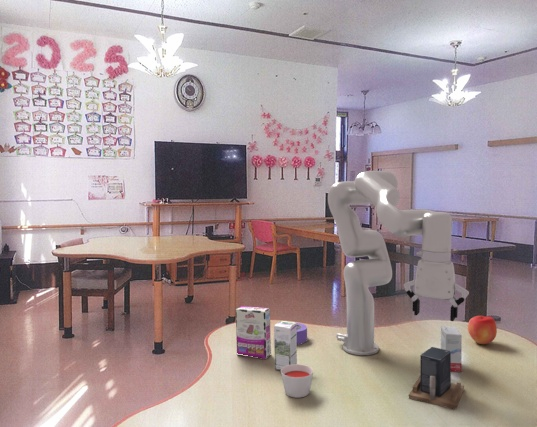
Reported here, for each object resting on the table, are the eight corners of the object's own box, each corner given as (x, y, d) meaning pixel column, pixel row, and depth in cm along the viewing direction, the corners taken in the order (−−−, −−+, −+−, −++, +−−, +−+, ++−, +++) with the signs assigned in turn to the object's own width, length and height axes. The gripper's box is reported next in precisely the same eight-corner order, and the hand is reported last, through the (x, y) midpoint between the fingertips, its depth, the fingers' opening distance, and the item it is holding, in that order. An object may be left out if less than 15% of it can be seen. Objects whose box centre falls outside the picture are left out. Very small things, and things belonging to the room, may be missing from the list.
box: (431, 382, 129) (431, 346, 128) (451, 387, 125) (451, 351, 124) (419, 391, 123) (419, 354, 123) (440, 398, 119) (440, 359, 119)
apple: (498, 341, 163) (498, 314, 163) (495, 349, 155) (495, 321, 155) (469, 337, 168) (469, 311, 168) (465, 344, 160) (465, 317, 160)
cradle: (408, 398, 122) (408, 373, 121) (420, 380, 133) (420, 357, 132) (456, 409, 115) (456, 382, 115) (463, 389, 126) (464, 365, 126)
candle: (303, 403, 120) (303, 380, 120) (275, 395, 125) (275, 373, 124) (318, 389, 128) (318, 368, 127) (291, 382, 132) (290, 361, 132)
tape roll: (278, 334, 176) (278, 321, 175) (308, 335, 174) (307, 322, 174) (274, 344, 164) (274, 331, 164) (306, 345, 163) (306, 332, 162)
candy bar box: (271, 354, 154) (270, 307, 153) (266, 359, 150) (265, 311, 149) (242, 350, 159) (241, 305, 158) (236, 355, 154) (235, 308, 153)
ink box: (461, 372, 137) (462, 335, 137) (445, 371, 138) (445, 334, 138) (456, 361, 146) (456, 326, 145) (440, 360, 147) (440, 325, 146)
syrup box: (297, 365, 144) (297, 321, 143) (290, 373, 139) (290, 327, 138) (281, 363, 147) (280, 319, 146) (274, 370, 141) (273, 325, 141)
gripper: (400, 255, 125) (399, 315, 126) (467, 262, 116) (465, 326, 117) (408, 251, 131) (406, 308, 133) (472, 257, 122) (470, 318, 123)
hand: (434, 316), depth 125 cm, fingers open, 9 cm apart
